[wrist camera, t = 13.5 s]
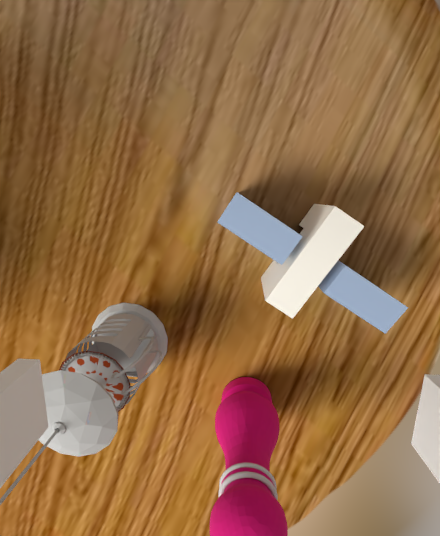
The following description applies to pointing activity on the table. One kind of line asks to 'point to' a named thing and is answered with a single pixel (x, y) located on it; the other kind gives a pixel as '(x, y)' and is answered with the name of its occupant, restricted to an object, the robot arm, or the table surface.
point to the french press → (99, 381)
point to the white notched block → (309, 258)
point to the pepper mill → (247, 463)
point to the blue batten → (335, 282)
